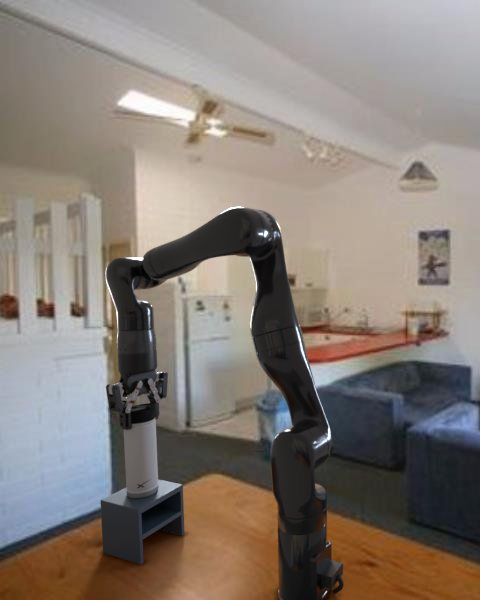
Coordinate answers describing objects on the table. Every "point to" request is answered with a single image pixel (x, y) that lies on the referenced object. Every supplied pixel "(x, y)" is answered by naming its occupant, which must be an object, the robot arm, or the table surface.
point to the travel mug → (141, 452)
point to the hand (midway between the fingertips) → (140, 423)
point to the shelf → (140, 519)
